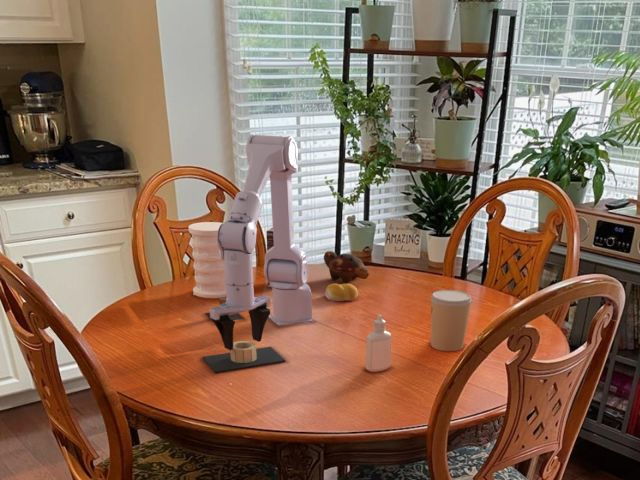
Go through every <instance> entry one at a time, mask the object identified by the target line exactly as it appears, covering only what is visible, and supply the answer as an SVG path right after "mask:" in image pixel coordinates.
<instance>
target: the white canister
mask: <svg viewBox="0 0 640 480" xmlns="http://www.w3.org/2000/svg"><path fill="white" fill-rule="evenodd" d="M430 301H431V304H430V306H431V307H430V345H431V347H432V348H434V349H436V350H439V351H442V352H455V351H460V350H461V349H462V350H463V347H464V344H465V339H466V334H467V329H468V322H469V318H470V311H471V305H472V302H473V298H472V296H471V294H470V293H468V292H465V291H462V290H457V289H441V290H436V291H434V292H433V293H432V294H431V296H430Z"/></svg>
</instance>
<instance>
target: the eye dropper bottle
mask: <svg viewBox="0 0 640 480" xmlns="http://www.w3.org/2000/svg"><path fill="white" fill-rule="evenodd" d="M386 323H387V321H386V320H384V319H383V315H382V314H380V313H379V314H377V319H375V320H374V321H373V331H371V332H370V333H368V335H367V336H366V341H365V369H366V370H367V371H368V372H372V373H376V372H377V373H378V372H382V371H385V370H388V369H390V368H391V358H392V339H393V338H392V336H393V335H392V334H391V332H389V331H387V330H386Z"/></svg>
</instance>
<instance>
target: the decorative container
mask: <svg viewBox="0 0 640 480" xmlns="http://www.w3.org/2000/svg"><path fill="white" fill-rule="evenodd" d="M223 223H224V222H219V221H218V222H217V221H204V222H203V221H201V222H194V223H191V224H189V225H188V226H187V227H188V233H189V234H190V235H191V240H190V244H191V246H192V253H191V255H192V258H193V270H194V272H195V273H194V281H195V284H196V285H195V286H194V287H193V288H192V294H193V296H197V297H199V298H205V299H219V298H221V297H225V298H227V296H226V281H225V267H224V260H222V258H221V251H220V249H219V246H218V242H217V238H218V229H219V227H220V225H221V224H223Z"/></svg>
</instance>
